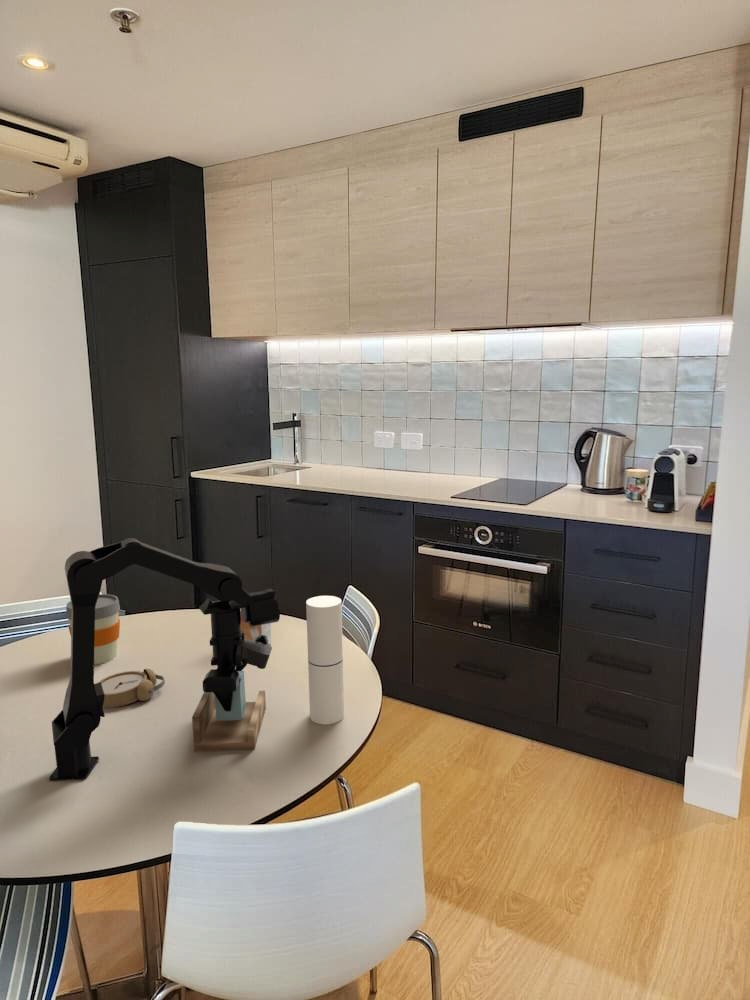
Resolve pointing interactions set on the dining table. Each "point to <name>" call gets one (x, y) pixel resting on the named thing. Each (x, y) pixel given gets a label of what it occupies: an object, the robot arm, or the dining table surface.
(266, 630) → the small box
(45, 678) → the dining table surface
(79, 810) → the dining table surface
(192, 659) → the dining table surface
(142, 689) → the alarm clock
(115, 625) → the reusable coffee cup
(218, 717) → the teal block
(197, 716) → the cleat board
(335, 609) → the cylindrical container
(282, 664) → the dining table surface
